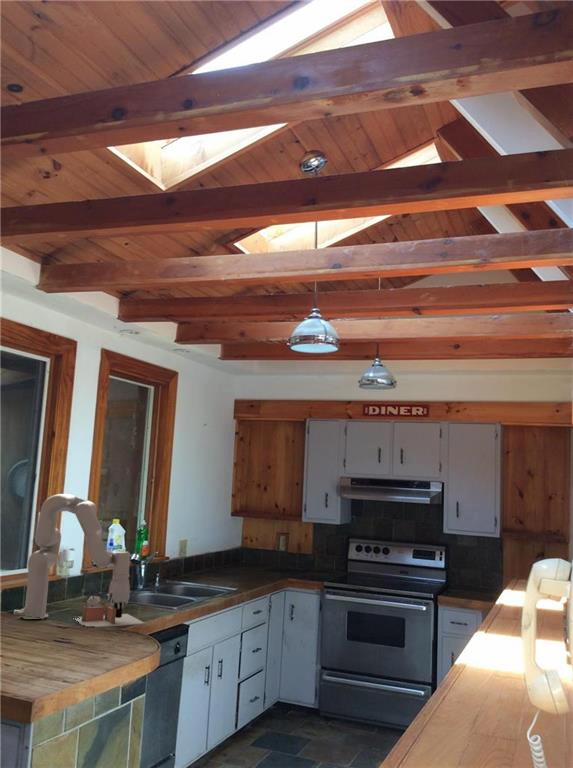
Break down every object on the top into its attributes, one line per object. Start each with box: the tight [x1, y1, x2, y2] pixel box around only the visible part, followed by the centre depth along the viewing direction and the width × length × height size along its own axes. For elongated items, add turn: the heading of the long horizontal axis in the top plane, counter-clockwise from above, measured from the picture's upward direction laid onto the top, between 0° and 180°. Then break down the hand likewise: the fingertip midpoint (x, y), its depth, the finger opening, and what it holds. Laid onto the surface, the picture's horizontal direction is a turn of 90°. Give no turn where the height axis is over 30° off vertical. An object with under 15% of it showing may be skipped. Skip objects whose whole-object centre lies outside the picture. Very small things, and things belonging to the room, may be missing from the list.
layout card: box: [72, 613, 146, 628], centre depth 319 cm, size 28×24×1 cm
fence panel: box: [107, 605, 116, 623], centre depth 316 cm, size 11×2×7 cm, turn 30°
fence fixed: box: [81, 603, 111, 621], centre depth 319 cm, size 13×2×7 cm, turn 123°
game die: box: [84, 594, 104, 608], centre depth 342 cm, size 9×8×10 cm
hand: (118, 617), depth 317 cm, fingers closed
